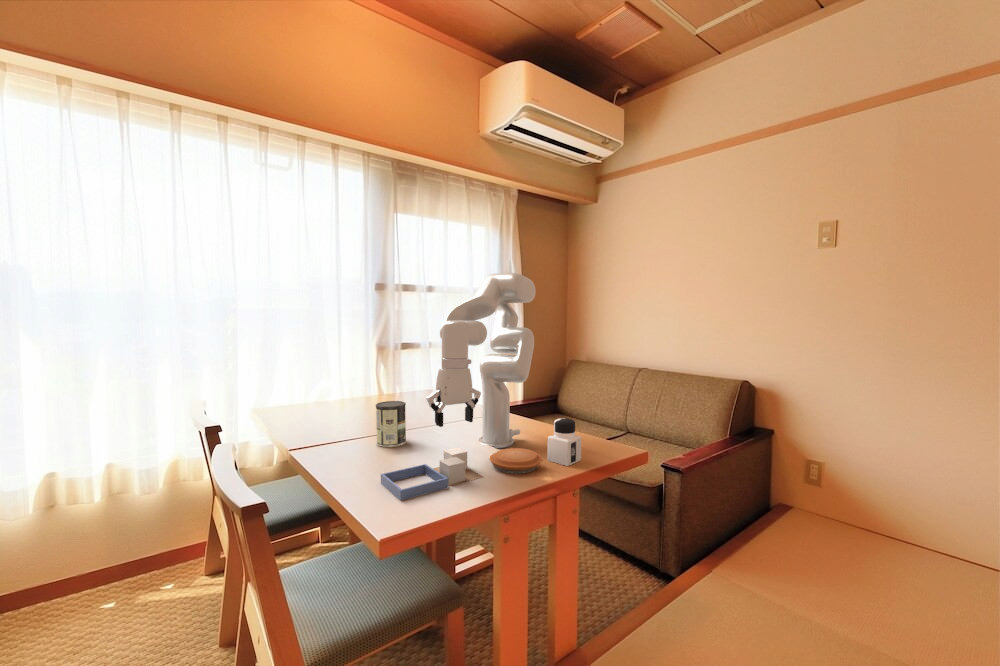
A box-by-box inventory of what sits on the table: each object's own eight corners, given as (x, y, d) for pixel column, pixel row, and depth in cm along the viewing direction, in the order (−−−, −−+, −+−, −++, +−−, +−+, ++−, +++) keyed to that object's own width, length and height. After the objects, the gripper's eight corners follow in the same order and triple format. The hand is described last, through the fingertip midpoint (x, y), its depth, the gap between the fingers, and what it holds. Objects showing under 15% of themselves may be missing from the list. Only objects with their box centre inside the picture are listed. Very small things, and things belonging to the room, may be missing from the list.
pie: (479, 467, 128) (479, 451, 128) (519, 457, 137) (519, 442, 137) (510, 484, 115) (510, 466, 115) (552, 472, 125) (553, 455, 124)
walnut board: (458, 466, 128) (458, 462, 128) (484, 481, 117) (484, 476, 117) (424, 474, 122) (424, 470, 122) (448, 490, 111) (449, 486, 111)
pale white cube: (455, 474, 119) (455, 456, 119) (465, 480, 115) (465, 462, 114) (439, 478, 116) (439, 460, 116) (448, 484, 112) (448, 465, 112)
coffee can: (399, 437, 159) (399, 399, 158) (410, 444, 150) (410, 404, 150) (371, 441, 153) (371, 402, 152) (382, 449, 144) (381, 408, 144)
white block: (458, 463, 127) (458, 447, 127) (467, 468, 123) (467, 451, 123) (443, 467, 124) (443, 450, 124) (452, 472, 120) (452, 454, 120)
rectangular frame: (425, 476, 121) (425, 463, 120) (448, 492, 110) (448, 478, 110) (380, 487, 113) (380, 474, 113) (400, 505, 102) (400, 490, 102)
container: (581, 460, 134) (582, 419, 133) (567, 466, 128) (568, 424, 128) (561, 454, 139) (561, 415, 139) (546, 460, 134) (547, 419, 133)
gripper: (473, 361, 130) (472, 417, 131) (421, 364, 120) (421, 425, 121) (487, 363, 124) (486, 422, 125) (433, 367, 114) (433, 430, 115)
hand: (454, 423), depth 123 cm, fingers open, 9 cm apart
